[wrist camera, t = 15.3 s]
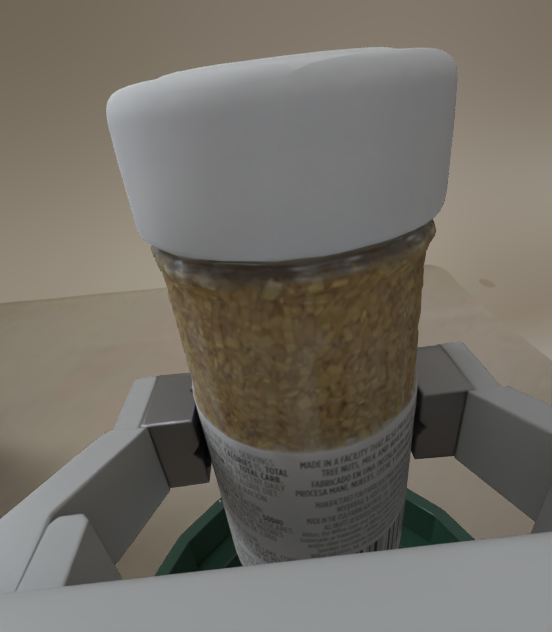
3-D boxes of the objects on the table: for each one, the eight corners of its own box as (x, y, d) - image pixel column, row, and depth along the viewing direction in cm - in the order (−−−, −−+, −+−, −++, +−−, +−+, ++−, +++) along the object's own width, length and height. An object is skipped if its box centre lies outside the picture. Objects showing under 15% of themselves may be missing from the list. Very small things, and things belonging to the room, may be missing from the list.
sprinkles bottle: (350, 493, 14) (351, 64, 7) (428, 635, 10) (573, 19, 4) (231, 538, 13) (107, 89, 6) (269, 712, 9) (63, 62, 3)
